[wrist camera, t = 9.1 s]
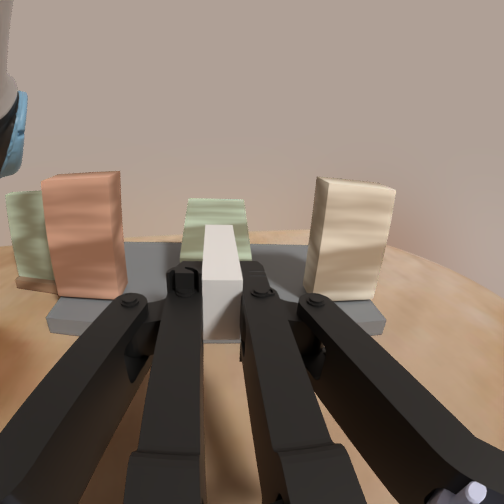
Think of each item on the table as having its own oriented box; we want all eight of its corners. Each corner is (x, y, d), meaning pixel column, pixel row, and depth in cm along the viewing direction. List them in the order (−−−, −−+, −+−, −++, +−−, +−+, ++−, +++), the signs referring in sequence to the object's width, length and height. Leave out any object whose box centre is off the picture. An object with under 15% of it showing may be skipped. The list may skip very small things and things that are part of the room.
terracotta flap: (119, 299, 24) (108, 177, 20) (58, 295, 23) (41, 181, 19) (128, 282, 27) (120, 171, 23) (70, 280, 26) (57, 174, 22)
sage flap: (252, 259, 26) (243, 199, 34) (179, 258, 25) (188, 198, 33) (248, 284, 28) (241, 222, 36) (181, 284, 27) (189, 221, 35)
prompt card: (17, 287, 26) (-1, 197, 22) (30, 275, 29) (16, 190, 25) (57, 293, 26) (41, 195, 23) (70, 280, 29) (58, 188, 25)
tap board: (381, 334, 25) (386, 320, 24) (50, 332, 21) (45, 317, 20) (323, 256, 40) (324, 245, 40) (106, 252, 37) (105, 241, 36)
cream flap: (372, 299, 27) (396, 190, 23) (311, 301, 26) (329, 183, 22) (360, 283, 29) (379, 183, 26) (302, 284, 29) (316, 176, 25)
